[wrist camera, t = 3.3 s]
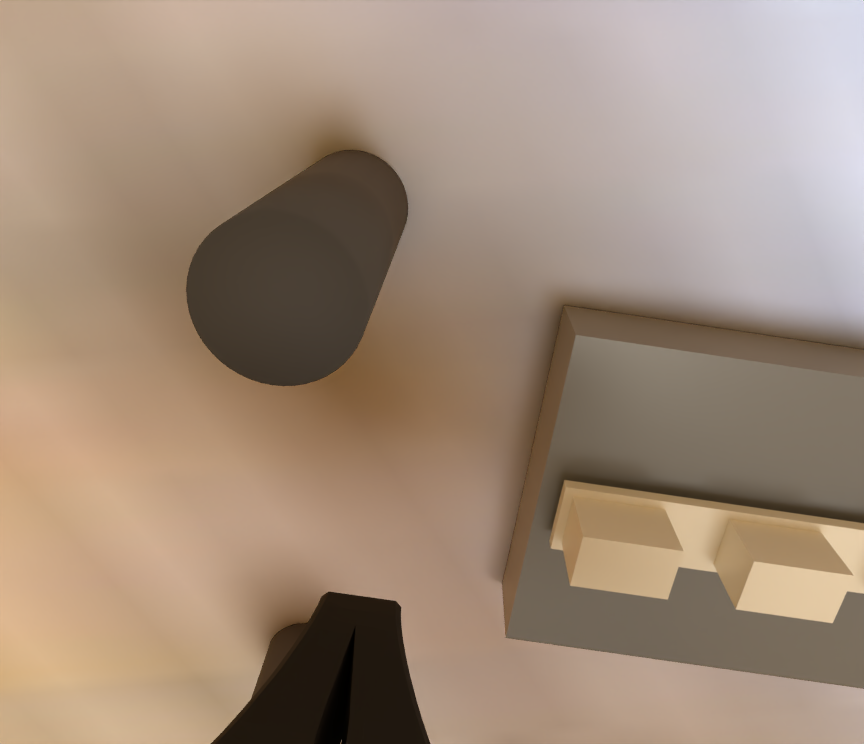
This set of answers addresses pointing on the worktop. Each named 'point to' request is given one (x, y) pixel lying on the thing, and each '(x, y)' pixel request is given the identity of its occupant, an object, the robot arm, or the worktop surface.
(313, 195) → the post
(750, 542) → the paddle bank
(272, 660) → the post
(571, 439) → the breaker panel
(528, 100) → the worktop surface
